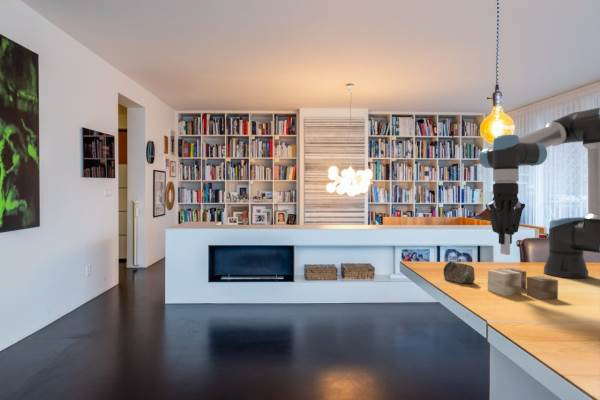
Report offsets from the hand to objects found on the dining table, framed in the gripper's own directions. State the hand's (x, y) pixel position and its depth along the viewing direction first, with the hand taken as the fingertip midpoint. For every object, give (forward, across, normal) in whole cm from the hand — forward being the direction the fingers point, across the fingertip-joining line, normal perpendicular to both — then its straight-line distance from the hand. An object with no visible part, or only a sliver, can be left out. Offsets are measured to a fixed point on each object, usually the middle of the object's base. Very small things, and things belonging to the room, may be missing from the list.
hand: (505, 253), depth 133 cm
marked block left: (+13, -8, +7) cm, 17 cm away
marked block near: (+13, -8, -7) cm, 17 cm away
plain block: (+13, 0, 0) cm, 13 cm away
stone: (+13, +6, -18) cm, 23 cm away
